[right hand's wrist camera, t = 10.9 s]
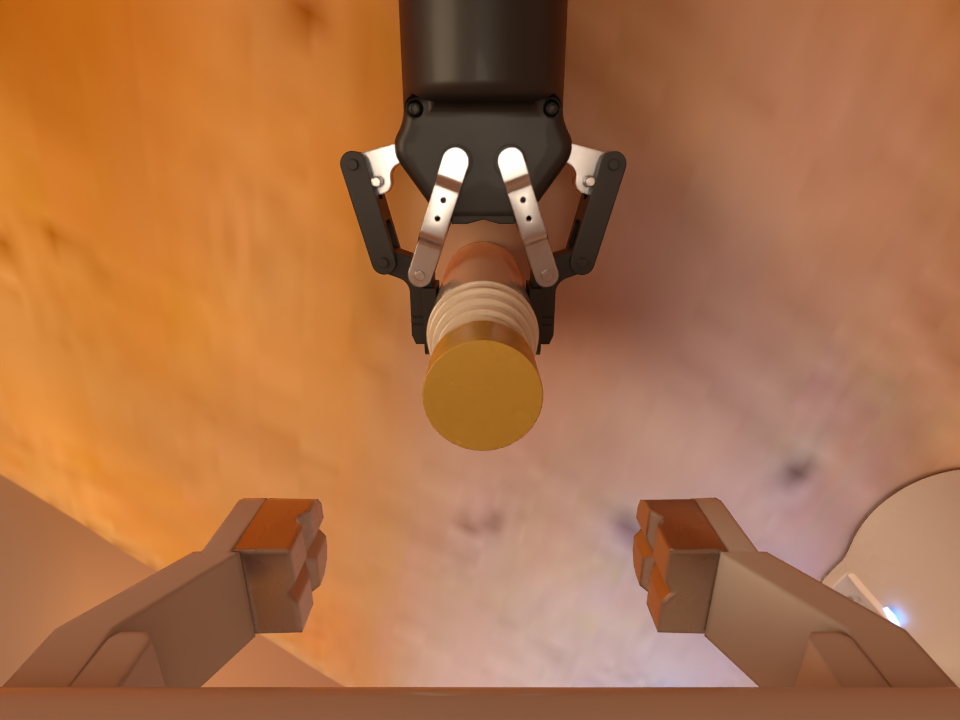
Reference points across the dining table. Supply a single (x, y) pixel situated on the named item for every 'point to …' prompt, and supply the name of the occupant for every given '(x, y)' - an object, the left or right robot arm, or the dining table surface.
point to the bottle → (482, 294)
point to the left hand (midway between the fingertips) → (483, 348)
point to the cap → (482, 386)
